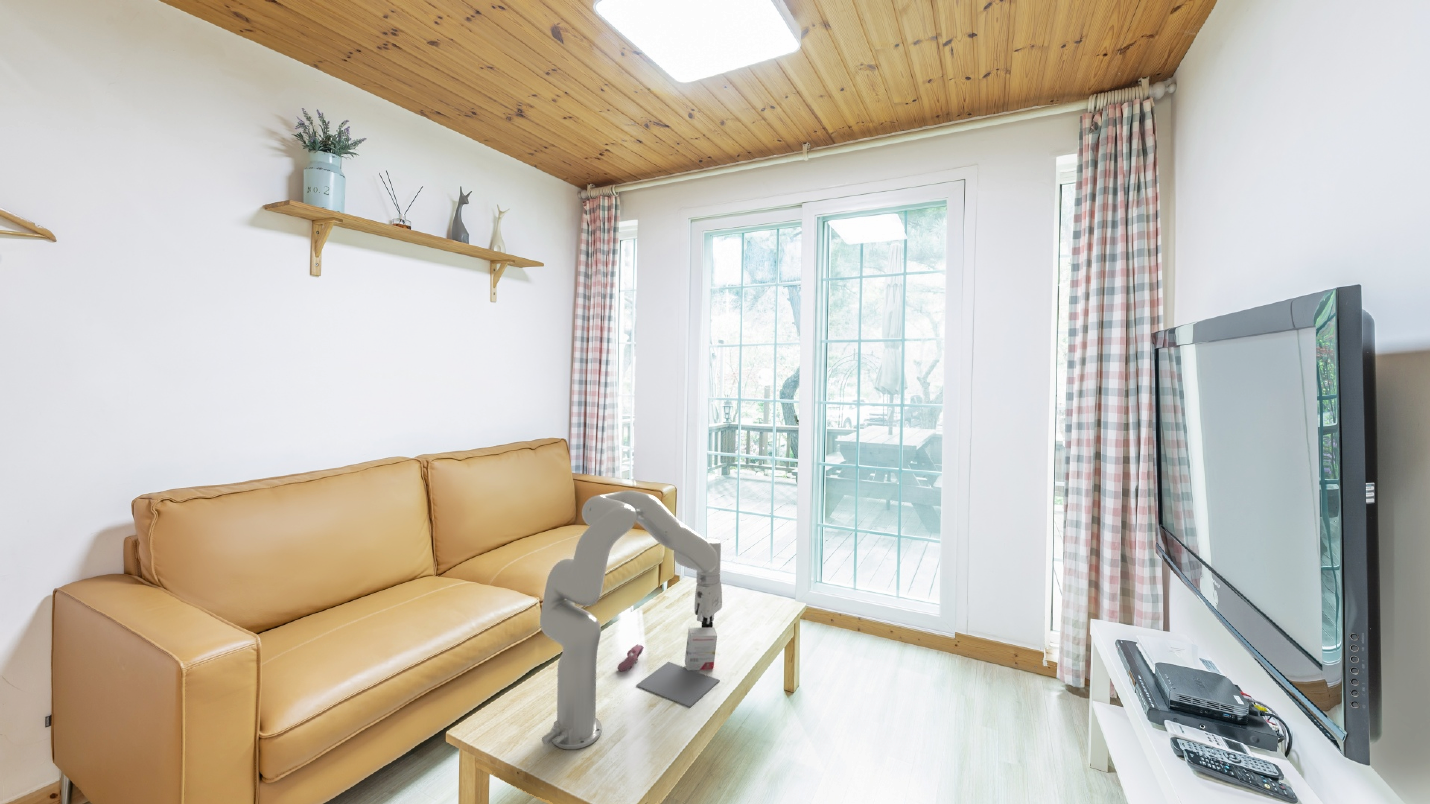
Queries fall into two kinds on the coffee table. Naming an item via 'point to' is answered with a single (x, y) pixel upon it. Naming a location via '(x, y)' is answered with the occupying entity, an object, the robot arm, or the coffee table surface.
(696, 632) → the ink box
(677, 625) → the coffee table surface
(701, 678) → the mat
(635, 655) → the video game controller
